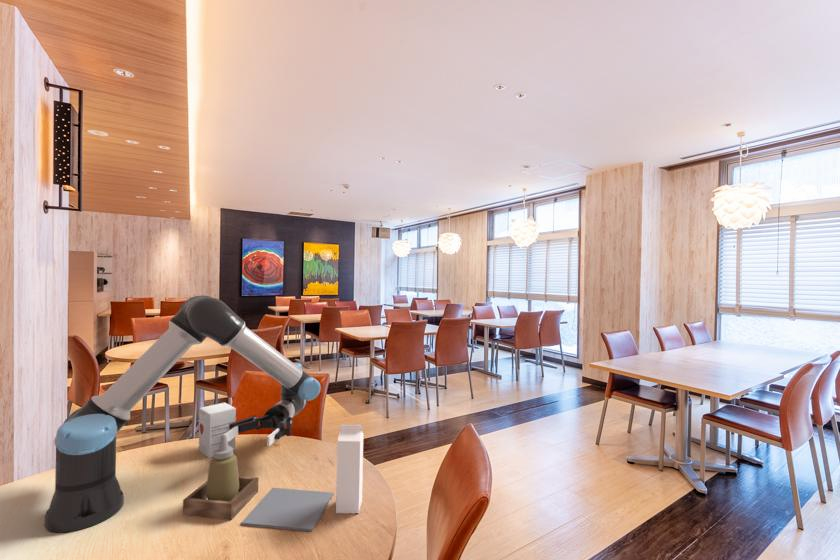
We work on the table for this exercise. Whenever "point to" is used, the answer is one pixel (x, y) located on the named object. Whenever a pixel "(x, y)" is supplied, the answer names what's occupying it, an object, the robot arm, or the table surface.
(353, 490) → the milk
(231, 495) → the squeeze bottle
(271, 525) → the slate mat
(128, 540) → the table surface
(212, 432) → the supplement box
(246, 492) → the walnut tray
